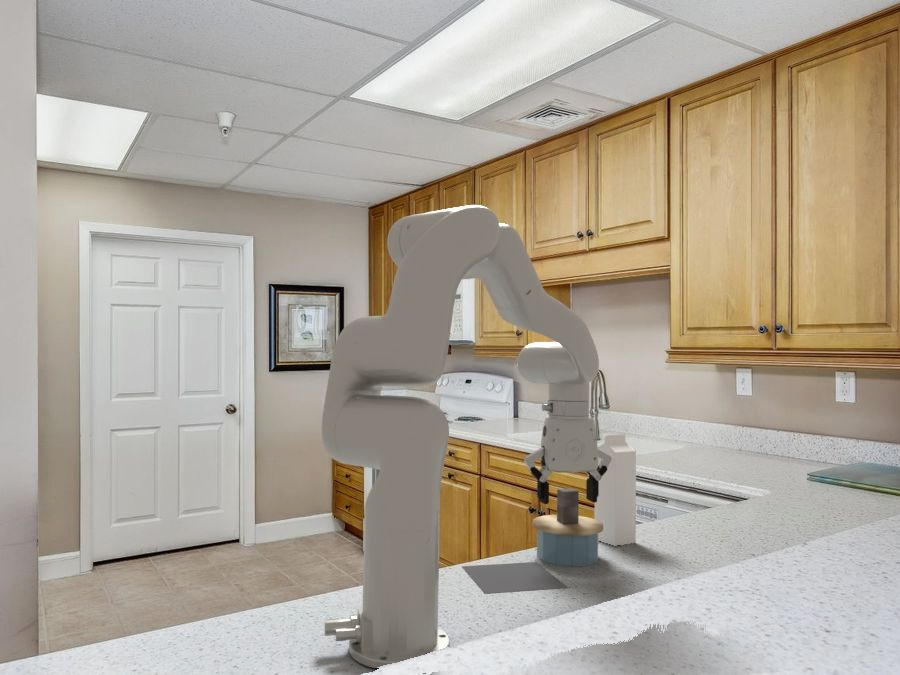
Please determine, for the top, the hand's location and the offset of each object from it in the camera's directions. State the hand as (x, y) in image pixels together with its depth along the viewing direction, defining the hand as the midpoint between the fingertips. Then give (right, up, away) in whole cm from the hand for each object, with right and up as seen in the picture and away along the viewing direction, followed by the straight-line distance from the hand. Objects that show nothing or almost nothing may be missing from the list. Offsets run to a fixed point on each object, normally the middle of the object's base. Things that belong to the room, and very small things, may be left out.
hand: (567, 501), depth 122 cm
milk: (+12, -12, +13) cm, 21 cm away
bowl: (0, -11, 0) cm, 11 cm away
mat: (-12, -10, -13) cm, 20 cm away
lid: (0, -5, 0) cm, 5 cm away
